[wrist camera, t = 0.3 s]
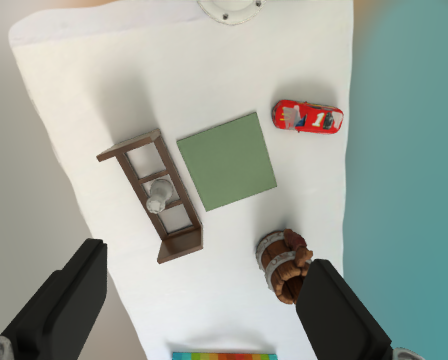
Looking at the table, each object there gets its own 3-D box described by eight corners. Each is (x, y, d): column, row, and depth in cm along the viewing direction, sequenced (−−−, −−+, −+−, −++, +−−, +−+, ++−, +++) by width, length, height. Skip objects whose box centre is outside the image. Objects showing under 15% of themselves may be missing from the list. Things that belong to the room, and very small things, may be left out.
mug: (250, 273, 56) (268, 320, 42) (255, 217, 54) (276, 247, 39) (296, 273, 58) (328, 319, 43) (303, 218, 55) (341, 248, 41)
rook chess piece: (172, 200, 48) (167, 219, 41) (150, 197, 47) (141, 217, 40) (174, 180, 46) (168, 196, 39) (151, 177, 46) (141, 194, 38)
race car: (267, 126, 44) (273, 129, 41) (274, 96, 43) (281, 97, 39) (330, 136, 46) (342, 139, 42) (339, 108, 44) (352, 109, 41)
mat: (255, 112, 43) (256, 112, 43) (276, 185, 49) (277, 186, 49) (176, 141, 44) (176, 142, 43) (206, 210, 50) (206, 211, 49)
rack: (158, 128, 43) (149, 136, 35) (202, 226, 51) (203, 248, 43) (114, 145, 43) (95, 156, 36) (165, 239, 51) (158, 264, 44)
